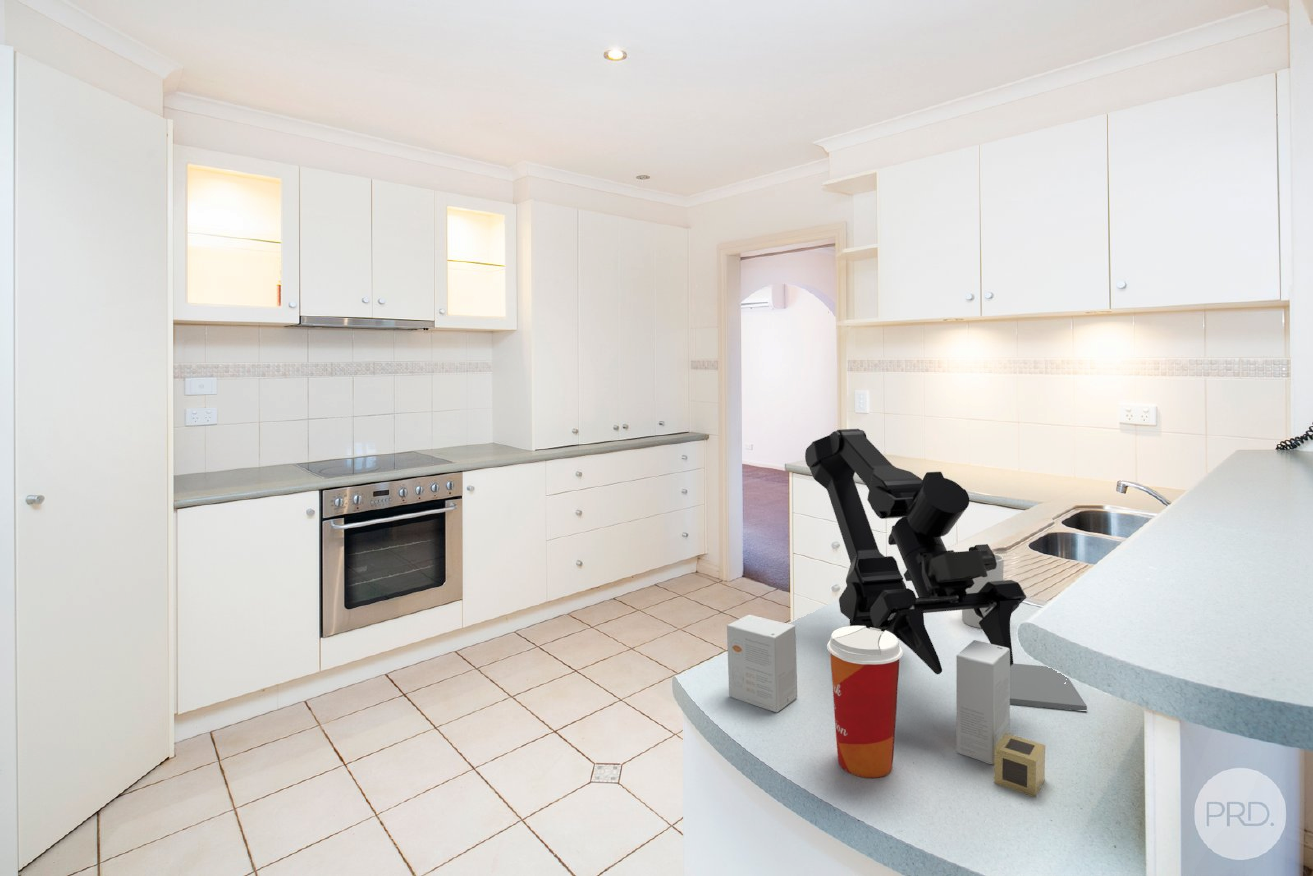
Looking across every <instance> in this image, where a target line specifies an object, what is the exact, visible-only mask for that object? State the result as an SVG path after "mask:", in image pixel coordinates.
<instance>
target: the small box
mask: <svg viewBox="0 0 1313 876" xmlns="http://www.w3.org/2000/svg"><path fill="white" fill-rule="evenodd" d="M796 630H797V629H796V625H794V624H790V623H787V622H786V623H785V622H781V621H777V620H773V619H769V618H765V617H760V616H757V615H753V614H747V615H745V616H743V617H741V618H739V619H737V620H735V621H733V622H731V623H729V624H727V625H726V635H727V636H726V639H727V644H726V645H727V666H728V667H727V668H728V670H727V672H728V695H729V697H730V698H733V699H736V700H738V701H741V702H744V703H747V704H749V705H754V706H756V707H759V708H761V709H765V710H768V711H771V712H774V713H779V712H780V711H781V710H783V709H784V708H785V707H787V706H788V705H789V704H791V703H792V702H794V700H796V699H797V698H798V673H797V672H798V671H797V663H798V662H797V638H796V637H797V634H796Z"/></svg>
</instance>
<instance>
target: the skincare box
mask: <svg viewBox="0 0 1313 876" xmlns="http://www.w3.org/2000/svg"><path fill="white" fill-rule="evenodd" d="M955 658H956V752H957V754H960V755H963V756H965V757H969V758H972V759H974V760H978V761H980V762H984V763H986V764H989V765H994V762H995V747H996V746H997V744H998V743H999V741H1000V740H1001V738H1002V737H1003V735H1004V734H1005V733H1006V734H1010V733H1011V732H1010V728H1011V726H1010V724H1011V723H1010V721H1011V719H1010V717H1011V716H1010V715H1011V713H1010V712H1011V711H1010V710H1011V709H1010V708H1011V707H1010V706H1011V704H1010V649H1009V648H1007V647H1002V646H998V645H994V644H991V643H990V642H987V641H986V642H984V641H981V640H976V639H975V640H972V641H971V642H970V643H969V644H968V645H967V646H966V647H964V649H962V650H961V651H960V652H959V653H958V654H956V657H955ZM1010 735H1011V734H1010Z"/></svg>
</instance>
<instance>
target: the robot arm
mask: <svg viewBox="0 0 1313 876" xmlns="http://www.w3.org/2000/svg"><path fill="white" fill-rule="evenodd" d="M804 458H805V464H806V465H807V467H808V468H809V470H810V473H811V476H812V478H813V480H815V481H816V482H817V483H819V484H820V485H821V486H822V487H823V488H824V489H826V491H827V493H828V497H829V499H830V503H831V506H832V510H833V513H834V516H835V519H836V521H837V526H838V528H839V531H840V534H841V536H842V540H843V542H844V546H845V550H846V552H847V555H848V559H849V563H850V565H849V568H848V571H847V574H846V577H845V583H846V587H845V588H844V590H843V592H842V593H841V595H840V596H839V598H838V603H839V610H840V613H841V614H843V615H844V616H845V617H846V618H847V619H848V620H849V626H866V628H869V629H870V627H871V628H876V629H881V631H883V632H884V631H885V630H886V631H889V632H891V633H892V634H894V635H895V636H896V637H897V639H898V641H900V642H902V643H903V644H904V645H906V646H907V648H909V649H910V650H911V651H912V652H913V653H914V654H915V655H916V656H917V657H918V658H919V659H920V660H922V662H923V663H924V664H925V665H926V666H927V667H929V669H930V670H931V671H933V673H935V675H940V674H941V673H942V672H943V668H942V664H941V662H940V659H939V655H938V653H937V650H936V649H935V646H934V644H933V642H932V639H931V637H930V635H929V633H928V631H927V628H926V625H925V619H924V618H925V616H924V614H928V613H940V612H942V613H943V612H953V611H962V610H965V609H974V611H975V613H976V615H978V616H979V617H981V618H983V619H982V620H981V621H980V622H979V625H980V626H981V628H980V629H982V632H983V633H984V635H985V636H986V638H987V640H988V641H989V643H990V644H994V645H998V646H1002V647H1007V648H1009V649H1010V666H1012V665H1013V663H1014V658H1013V657H1014V653H1013V648H1012V646H1013V645H1012V637H1011V618H1012V614H1013V613H1014V611H1016V610H1017V609H1018V608H1019V606H1020V604H1022V603H1023V601H1025V600H1026V599H1027V595H1026V594H1025V591H1024V589H1023V587H1022V586H1021V585H1020V583H1019V582H1017V581H1015V580H1013V579H1007V580H1004V579H1003V581H991V582H987V583H986V584H985V585H984V586H983V587H982V588H981V590H980V591H979V592H978V593H968V594H967V592H966V589H967V588H971V587H972V586H973V585H974V584H975V583H974V581H973V579H974V578H978V577H981V576H982V577H987V576H988V575H987V571H990V570H993V569H995V568H996V566H997V562H996V559H995V555H994V554H995V553H994V552H993V550H992V549H991V547H990V546H989V544H988V543H987V544H976V545H974V546H970V547H968V550H965V551H964V550H962V551H954V550H953V549H950V550H947V547H946V546H945V542H944V541H943V539H942V537H944V536H946V535H948V534H949V533H950V531H951V530H952V529H953V527H954V526H955V525H956V523H957V522H958V521H959V520H960V518H961V516H962V515H963V514H964V513H965V511H966V510H967V508H968V507H969V504H970V497H969V494H968V491H967V490H966V489H965V488H963V487H962V486H961V485H960V484H958V483H957V482H956V481H954V480H952V479H949V478H947V477H944V475H943V472H942V471H927V472H925V475H924V477H923V478H921V477H919V476H918V475H916V474H914V473H913V471H910V470H907V469H906V470H905V469H903V468H899V467H896V466H895V465H893V464H892V463H891V462H890V461H889V460H888V459H887V458H886V456H884V455H883V453H881V451H880V450H879V449H878V448H877V447H876V446H875V445H874V444H873V443H872V442H871V440H869V439H868V437H867V433H866V432H865V431H864V430H863V429H860V428H849V429H848V428H847V429H845V428H844V429H836V430H835V431H834V430H833V431H831V433H830V434H829V435H826V436H824V437H821V438H819V439H815V440H814V441H812V442H811V444H810V445H808V446H807V448H806V449H805V453H804ZM855 474H856V475H857V476H858V477H859V478H860V480H861V481H862V482H863V484H864V485H865V486H866V488H867V489H868V493H867V498H866V499H867V501H868V503H869V505H870V508H871V509H872V510H873V512H874V514H875V515H876V516H877V517H878V518H879V519H882V520H883V519H885V520H886V519H898V520H897V521H896V523H895V524H894V525H892V526H891V531H890V534H889V535H888V539H887V542H888V545H889V546H894V545H895V546H896V548H897V550H898V552H899V555H900V556H901V559H902V561H903V564H904V566H905V568H906V570H905V571H904V573H903V574H902V573H901V571H900V569H899V565H898V561H897V559H895V557H894V556H892V555H888V556H887V555H886V556H885V555H883V554H882V553H881V552H880V549H879V547H878V544H877V542H876V539H875V538H876V537H875V535H874V532H873V530H872V528H871V524H870V521H869V518H868V516H867V513H866V509H865V508H864V505H863V502H862V499H861V496H860V494H859V491H858V487H857V485H856V482H855V479H854V476H855ZM904 579H905V581H906V582H912V585H913V587H914V590H915V591H914V590H912V589H910V588H909V587H908V588H907V586H906V582H905V581H904ZM915 592H916V593H915ZM916 594H917V595H916ZM882 634H883V633H882Z"/></svg>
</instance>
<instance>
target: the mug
mask: <svg viewBox="0 0 1313 876" xmlns="http://www.w3.org/2000/svg"><path fill="white" fill-rule="evenodd" d="M994 555H995V559H996V562H997V566H996V568H995V569H993V570H990V571H987V575H988V576H987V577H982V576H981V577H978V578H974V579H973V581H974V583H975V584H974V585H973V586H972V587H971V588H967V589H966V592H967V594H968V593H978V592H979V591H980V590H981V588H982V587H983V586H984V585H985V584H986V583H987V582H991V581H1003V580H1004V565H1005V562H1004V560H1005V559H1004V557H1003V556H1002V555H1000V554H997V553H994ZM961 617H962V619H961V620H962V623H964V624H965V625H967V626H970V627H973V628H977V629H982V628H981V626H980V625H979V622H980V621H981V620H982V619H983V618H981V617H979V616H978V615H976V613H975V611H974V609H965V610H961Z"/></svg>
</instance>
